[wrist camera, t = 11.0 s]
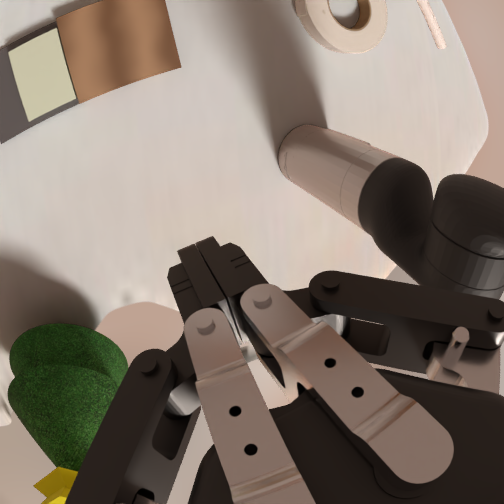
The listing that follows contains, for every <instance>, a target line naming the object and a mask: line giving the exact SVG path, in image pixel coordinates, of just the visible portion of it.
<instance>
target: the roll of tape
mask: <svg viewBox="0 0 504 504" xmlns="http://www.w3.org/2000/svg"><path fill="white" fill-rule="evenodd" d="M357 2H358V4H359V9H360V15H359V19H358V21H357V23H356V25H355V26H353V27H352V28H350V29H349V28H346V27H344V26H343V25H341V24H340V23H339V22H338V21H337V20H336V19H335V18H334V16H333V14H332V12H331V10H330V7H329V2H328V0H295V6H296V13H297V16H298V17H299V18H300V20H301V22H302V24H303V26H304V28H305V29H306V31H307V32H308V33H309V35H310V36H311V37H312V38H313V39H314V40H315V41H316V42H318V43H319V44H320V45H322V46H323V47H325V48H327V49H329V50H331V51H334V52H338V53H363V52H367V51H369V50H371V49H373V48H374V47H375V46H376V45H377V44H378V43H379V42H380V41H381V39H382V37H383V35H384V33H385V30H386V26H387V7H386V3H385V0H357Z"/></svg>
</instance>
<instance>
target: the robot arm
mask: <svg viewBox="0 0 504 504" xmlns="http://www.w3.org/2000/svg"><path fill="white" fill-rule="evenodd" d="M278 159H279V166H280V170H281V171H282V173H283V175H284V176H285V177H286V178H287V179H288V180H290V181H291V182H293V183H294V184H296V185H297V186H299V187H300V188H302V189H303V190H305V191H306V192H308V193H309V194H311V195H312V196H314V197H315V198H317V199H319V200H320V201H322V202H323V203H325V204H326V205H328V206H329V207H331V208H332V209H333V210H335V211H336V212H338V213H339V214H341V215H342V216H344V217H345V218H347V219H348V220H350V221H351V222H353V223H354V224H355V225H357V226H358V227H360V228H361V229H363V230H364V231H365V232H367V233H368V234H370V235H371V236H372V237H373V239H374V241H375V243H376V245H377V246H378V248H379V249H380V250H381V251H382V252H383V253H384V254H385V255H386V256H388V257H389V258H390V259H391V260H392V261H394V262H395V263H396V264H397V265H398V266H399V267H400V268H402V269H403V270H404V271H405V272H406V273H407V274H408V275H409V276H411V277H412V278H413V279H414V280H415V281H416V282H417V283H418V284H419V285H413V284H408V283H402V282H396V281H391V280H385V279H379V278H374V277H368V276H362V275H356V274H351V273H345V272H339V271H324V272H321V273H319V274H317V275H315V276H314V277H313V278H312V279H311V281H310V283H309V287H308V288H304V289H299V290H293V291H283V290H281V289H280V288H279V287H277V286H275V285H272V284H269V283H268V282H267V281H266V279H265V278H264V277H263V275H262V274H261V273H260V272H259V270H258V269H257V268H256V267H255V265H254V264H253V263H252V262H251V260H250V259H249V258H248V256H246V254H245V253H244V251H243V250H242V249H241V248H240V247H239V246H237V245H235V244H232V243H228V244H225V245H223V246H221V247H220V245H219V244H218V243H217V241H216V240H215V238H214V237H213V236H211V237H209V238H207V239H204V240H202V241H199V242H197V243H196V246H195V244H192V245H190V246H187V247H185V248H183V249H180V250H178V251H177V252H178V254H179V257H180V260H181V262H182V263H180V264H178V265H175V266H173V267H171V268H169V273H168V277H167V278H168V281H169V284H170V287H171V289H172V292H173V295H174V298H175V300H176V303H177V306H178V308H179V311H180V314H181V316H182V319H183V322H184V331H183V334H182V336H181V338H180V339H179V341H178V342H177V343H176V344H174V345H173V346H172V347H171V348H170V349H168V350H167V351H166V352H165V351H163V350H160V349H150V350H146V351H144V352H142V353H140V354H139V355H138V356H136V358H135V359H134V360H133V361H132V363H131V365H130V367H129V368H128V370H127V372H126V374H125V376H124V378H123V380H122V382H121V384H120V386H119V388H118V390H117V392H116V394H115V396H114V398H113V400H112V402H111V404H110V406H109V408H108V410H107V412H106V414H105V416H104V418H103V420H102V422H101V424H100V426H99V428H98V431H97V433H96V435H95V437H94V439H93V441H92V443H91V445H90V447H89V450H88V452H87V454H86V456H85V458H84V460H83V463H82V465H81V467H80V469H79V471H78V474H77V476H76V478H75V480H74V483H73V485H72V487H71V489H70V492H69V494H68V496H67V499H66V501H65V503H64V504H166V503H167V501H168V498H169V495H170V492H171V490H172V487H173V484H174V482H175V479H176V476H177V473H178V471H179V468H180V465H181V463H182V460H183V457H184V454H185V452H186V449H187V446H188V443H189V441H190V438H191V435H192V433H193V430H194V427H195V424H196V421H197V419H198V416H199V413H200V410H201V405H202V408H203V411H204V415H205V418H206V421H207V423H208V427H209V430H210V432H211V436H212V439H213V442H214V444H213V445H212V446H211V448H210V449H209V450H208V451H207V453H206V454H205V456H204V457H203V459H202V461H201V463H200V466H199V468H198V472H197V475H196V478H195V482H194V485H193V488H192V491H191V495H190V498H189V502H188V504H504V397H503V396H501V395H499V384H500V347H501V344H502V343H503V341H504V302H503V301H501V300H499V299H500V297H501V295H502V293H503V291H504V188H502V187H500V186H498V185H496V184H493V183H491V182H489V181H486V180H484V179H480V178H478V177H474V176H470V175H464V174H453V175H449V176H447V177H445V178H443V179H442V180H441V181H440V183H439V185H438V188H437V191H436V194H435V198H434V200H433V193H432V187H431V183H430V180H429V178H428V176H427V174H426V173H425V171H424V170H423V169H422V168H421V167H419V166H418V165H416V164H414V163H412V162H410V161H408V160H405V159H403V158H400V157H398V156H396V155H393V154H391V153H388V152H386V151H383V150H381V149H378V148H376V147H373V146H371V145H370V144H369V143H367V142H365V141H362V140H359V139H356V138H354V137H351V136H348V135H345V134H342V133H340V132H337V131H334V130H331V129H324V128H321V127H318V126H314V125H302V126H299V127H297V128H295V129H293V130H292V131H291V132H290V133H289V134H288V135H287V136H286V137H285V138H284V140H283V142H282V144H281V147H280V150H279V156H278ZM351 318H355V319H360V320H365V321H369V322H365V321H360V320H355V319H351ZM370 322H375V323H379V324H375V323H370ZM380 324H383V325H380ZM239 337H240V338H241V340H242V342H243V343H246V342H248V341H250V342H251V343H252V345H253V347H254V349H255V352H256V355H257V357H258V359H259V360H260V362H261V363H262V364H263V366H264V367H265V368H266V370H267V371H268V372H269V374H270V375H271V377H272V378H273V379H274V380H275V382H276V383H277V384H278V386H279V387H280V388H281V390H282V391H283V392H284V394H285V396H286V397H287V399H288V401H289V403H290V404H288V405H285V406H281V407H277V408H273V409H269V410H268V408H267V406H266V403H265V401H264V399H263V397H262V395H261V393H260V390H259V388H258V386H257V384H256V382H255V379H254V377H253V375H252V373H251V371H250V368H249V366H248V364H247V362H246V361H245V359H244V357H243V354H242V352H241V349H240V345H241V341H240V338H239ZM368 362H369V363H374V364H379V365H383V366H387V367H392V368H397V369H403V370H408V371H412V372H418V373H423V374H427V376H428V378H429V380H428V379H424V378H419V377H414V376H410V375H406V374H402V373H397V372H393V371H389V370H385V369H375V368H373V367H372V366H371V365H370V364H369V363H368Z"/></svg>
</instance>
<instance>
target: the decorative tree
mask: <svg viewBox="0 0 504 504" xmlns="http://www.w3.org/2000/svg"><path fill="white" fill-rule="evenodd" d="M9 360H10V366H11V370H12V372H13V374H14V376H15V378H14V379H13V380H12V382H11V383H10V385H9V388H8V400H9V403H10V405H11V407H12V409H13V410H14V412H15V413H16V415H17V416H18V418H19V419H20V420H21V422H22V424H23V425H24V426H25V428H26V429H27V431H28V432H29V433H30V435H31V436H32V437H33V438H34V440H35V441H36V443H37V444H38V445H39V446H40V448H41V449H42V450H43V451H44V452H45V454H46V455H47V456H48V458H49V459H50V460H51V461H52V462H53V464H54V465H55V466H56V467H57V468H56V469H55V470H53V471H52V472H51V473H49V474H48V475H47V476H46V477H44V478H43V479H42V480H40V481H39V482H38V483H36V484H35V485H34V487H35V488H36V489H37V490H39V491H40V492H41V493H42V494H44V495H45V496H46V497H47V498H46V499H45V500H44V501H43V502H42V503H41V504H64V503H65V501H66V499H67V496H68V494H69V492H70V489H71V487H72V485H73V483H74V480H75V478H76V476H77V474H78V471H79V469H80V467H81V465H82V463H83V460H84V458H85V456H86V454H87V452H88V450H89V447H90V445H91V443H92V441H93V439H94V437H95V435H96V433H97V431H98V428H99V426H100V424H101V422H102V420H103V418H104V416H105V414H106V412H107V410H108V408H109V406H110V404H111V402H112V400H113V398H114V396H115V394H116V392H117V390H118V388H119V386H120V384H121V382H122V380H123V378H124V376H125V374H126V372H127V370H128V363H127V360H126V357H125V355H124V354H123V352H122V351H121V349H120V348H119V347H118V346H117V345H116V344H115V343H114V342H113V341H111V340H110V339H109V338H107V337H106V336H104V335H102V334H100V333H98V332H96V331H94V330H92V329H89V328H86V327H82V326H78V325H73V324H62V323H59V324H46V325H41V326H38V327H35V328H32V329H30V330H28V331H26V332H25V333H23V334H22V335H21V336H19V337H18V338H17V340H16V341H15V342H14V344H13V346H12V348H11V351H10V358H9Z"/></svg>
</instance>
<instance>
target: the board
mask: <svg viewBox="0 0 504 504" xmlns="http://www.w3.org/2000/svg"><path fill="white" fill-rule="evenodd" d="M56 21H57V25H58V29H59V33H60V37H61V41H62V45H63V49H64V53H65V57H66V60H67V64H68V68H69V71H70V75H71V78H72V81H73V85H74V88H75V91H76V94H77V98H78V101H79V104H80V103H83V102H85V101H87V100H90V99H92V98H94V97H97V96H99V95H102V94H104V93H107V92H109V91H112V90H114V89H117V88H120V87H122V86H125V85H128V84H131V83H133V82H136V81H139V80H142V79H145V78H148V77H151V76H154V75H157V74H161V73H164V72H167V71H171V70H174V69H177V68H181V64H180V60H179V56H178V52H177V48H176V44H175V40H174V35H173V31H172V27H171V23H170V19H169V15H168V11H167V7H166V2H165V0H102V1H99V2H96V3H93V4H91V5H88V6H85V7H83V8H80V9H77V10H75V11H72V12H70V13H67V14H65V15H63V16H60V17H58V18H56Z"/></svg>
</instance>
